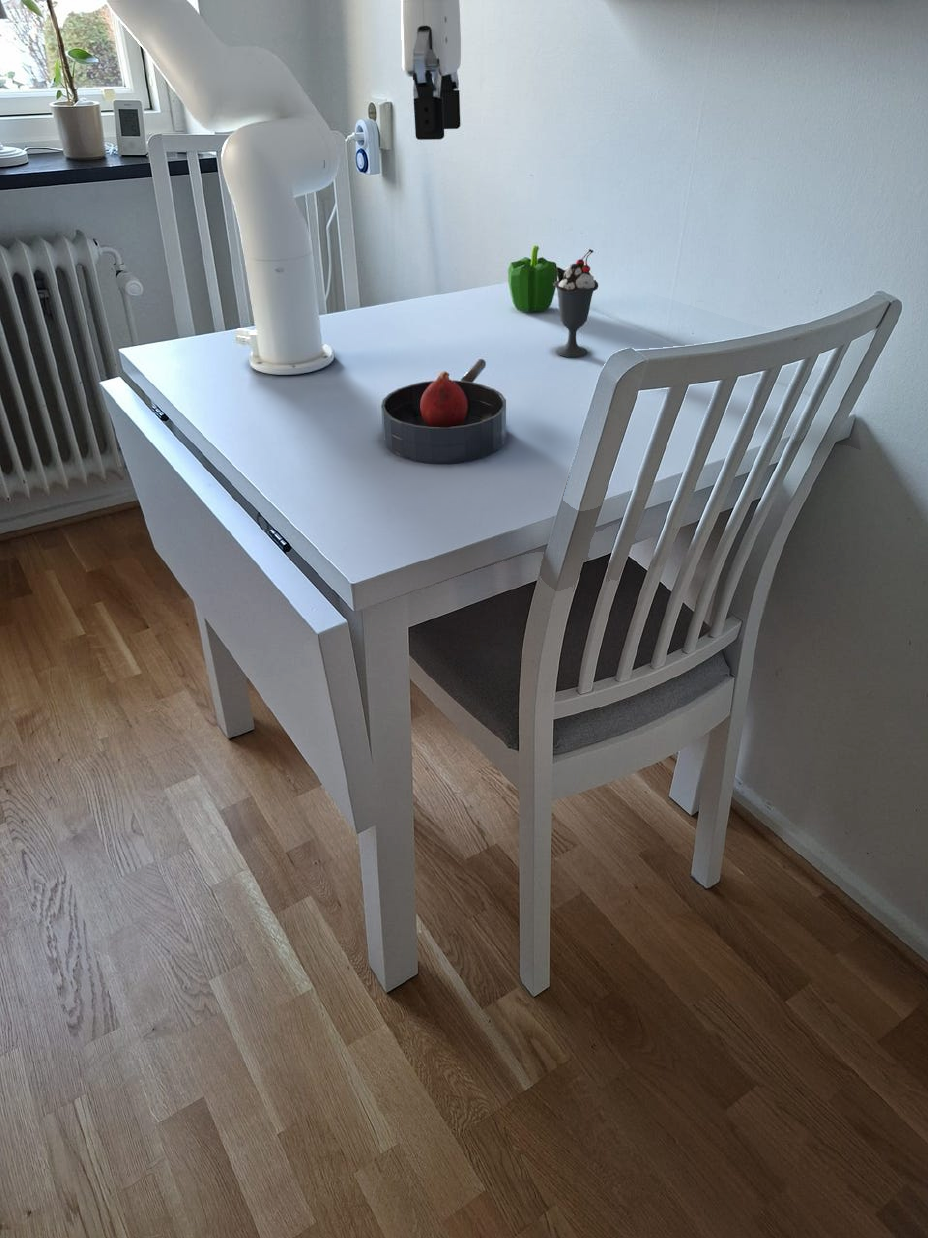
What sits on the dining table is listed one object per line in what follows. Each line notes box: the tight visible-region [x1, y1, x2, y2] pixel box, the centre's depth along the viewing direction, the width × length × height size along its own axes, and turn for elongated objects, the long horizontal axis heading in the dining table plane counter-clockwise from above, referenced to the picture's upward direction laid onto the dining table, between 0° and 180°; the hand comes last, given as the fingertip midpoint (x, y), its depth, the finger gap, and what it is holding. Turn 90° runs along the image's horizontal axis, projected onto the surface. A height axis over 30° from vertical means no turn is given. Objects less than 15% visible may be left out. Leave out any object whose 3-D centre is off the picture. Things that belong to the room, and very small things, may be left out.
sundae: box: [553, 248, 599, 358], centre depth 129 cm, size 7×7×15 cm
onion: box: [420, 370, 468, 427], centre depth 106 cm, size 6×6×8 cm
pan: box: [380, 379, 507, 465], centre depth 107 cm, size 15×15×4 cm
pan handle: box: [459, 358, 487, 383], centre depth 115 cm, size 9×1×1 cm, turn 163°
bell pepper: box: [507, 245, 558, 313], centre depth 148 cm, size 8×8×10 cm
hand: (439, 133), depth 101 cm, fingers open, 9 cm apart
